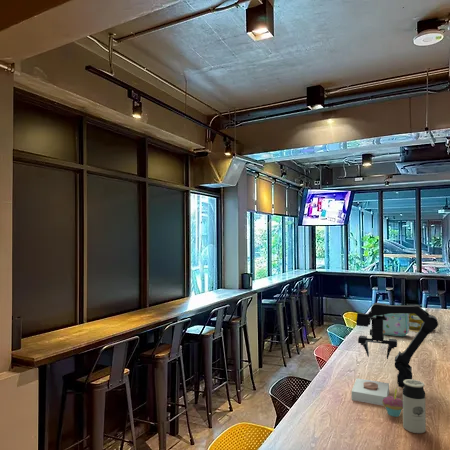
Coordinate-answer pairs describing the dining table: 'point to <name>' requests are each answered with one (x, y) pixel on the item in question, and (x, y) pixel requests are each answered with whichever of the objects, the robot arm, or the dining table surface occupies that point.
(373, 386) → the button
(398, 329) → the lunch box
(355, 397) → the button box
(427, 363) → the dining table surface
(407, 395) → the travel mug
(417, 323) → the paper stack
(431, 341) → the dining table surface
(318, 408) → the dining table surface
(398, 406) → the cupcake
